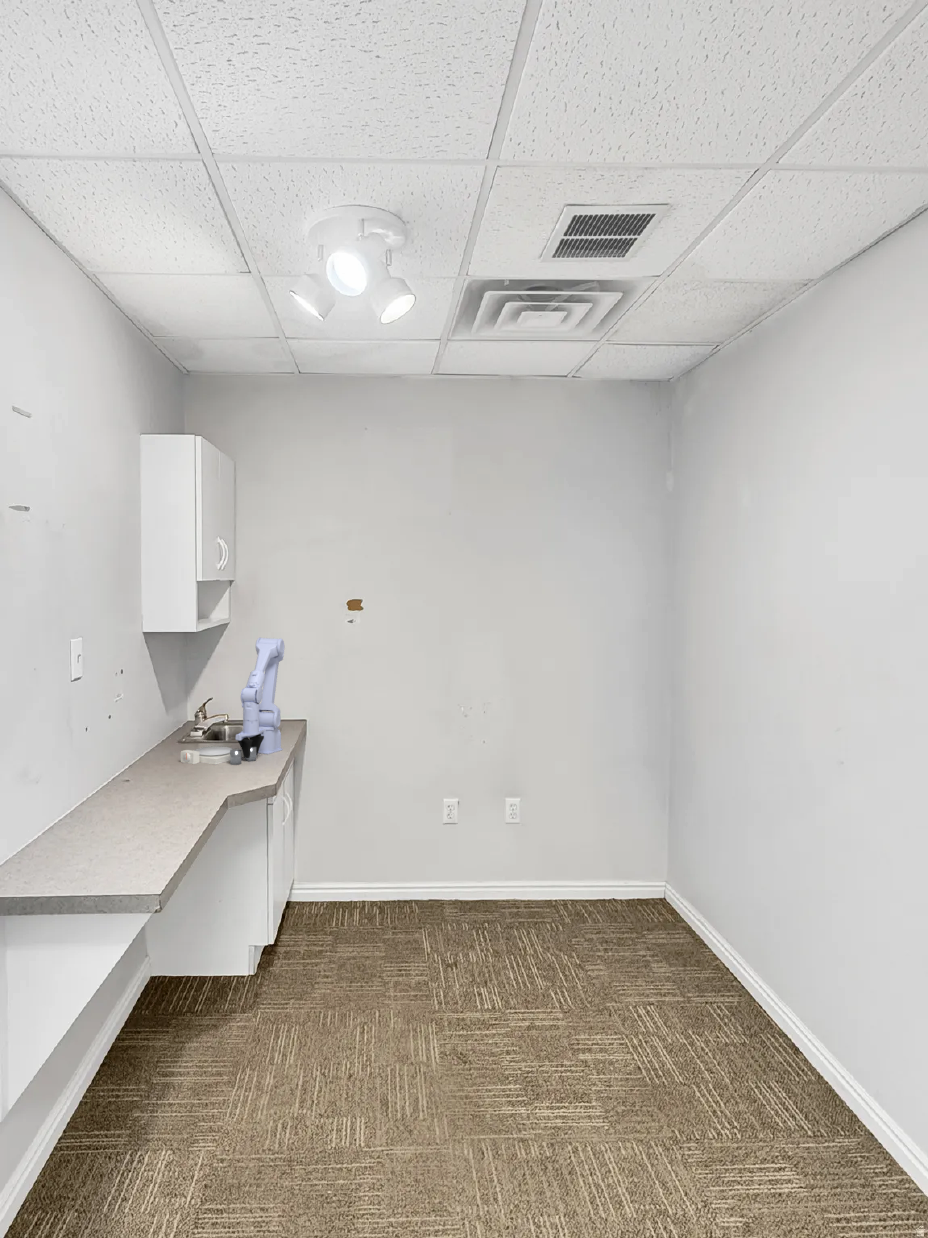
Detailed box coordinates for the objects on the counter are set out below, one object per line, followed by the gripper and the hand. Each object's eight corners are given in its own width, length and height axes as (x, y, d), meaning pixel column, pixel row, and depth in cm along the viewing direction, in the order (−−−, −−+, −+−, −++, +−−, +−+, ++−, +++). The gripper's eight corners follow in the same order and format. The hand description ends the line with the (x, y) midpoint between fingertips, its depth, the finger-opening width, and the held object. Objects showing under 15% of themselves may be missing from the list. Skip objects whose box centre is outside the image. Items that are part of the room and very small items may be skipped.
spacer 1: (235, 762, 306) (235, 748, 305) (243, 763, 304) (243, 749, 304) (227, 764, 302) (227, 750, 302) (236, 765, 300) (236, 751, 300)
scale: (212, 751, 322) (212, 741, 322) (244, 756, 315) (245, 745, 315) (173, 761, 304) (173, 750, 304) (207, 766, 297) (207, 755, 297)
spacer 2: (249, 758, 312) (250, 745, 311) (258, 759, 310) (258, 746, 310) (242, 760, 308) (242, 747, 308) (251, 762, 306) (251, 748, 306)
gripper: (255, 716, 316) (254, 751, 317) (229, 721, 303) (228, 758, 304) (270, 717, 313) (269, 753, 314) (244, 723, 300) (244, 761, 301)
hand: (250, 756), depth 309 cm, fingers closed on spacer 2, 4 cm apart
